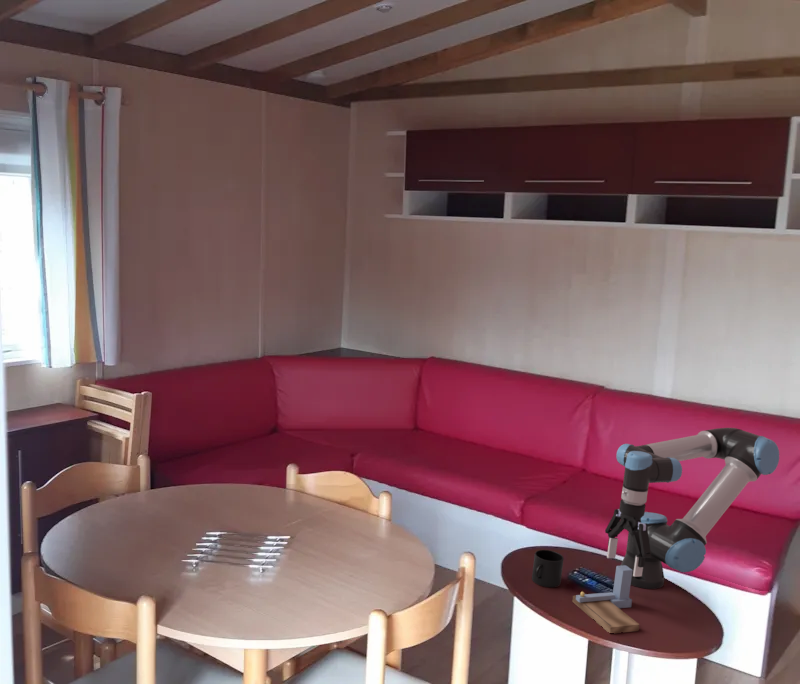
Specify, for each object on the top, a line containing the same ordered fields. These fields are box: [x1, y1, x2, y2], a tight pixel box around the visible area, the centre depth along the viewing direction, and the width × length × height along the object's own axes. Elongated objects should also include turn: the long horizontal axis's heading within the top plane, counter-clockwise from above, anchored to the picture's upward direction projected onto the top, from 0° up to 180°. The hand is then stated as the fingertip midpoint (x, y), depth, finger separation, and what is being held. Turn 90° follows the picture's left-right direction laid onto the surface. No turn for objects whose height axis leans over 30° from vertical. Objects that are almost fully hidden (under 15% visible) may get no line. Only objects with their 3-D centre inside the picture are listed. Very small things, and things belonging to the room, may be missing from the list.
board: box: [572, 595, 640, 634], centre depth 235 cm, size 10×20×2 cm, turn 20°
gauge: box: [575, 565, 633, 609], centre depth 241 cm, size 18×5×12 cm, turn 110°
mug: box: [531, 549, 565, 588], centre depth 254 cm, size 9×12×9 cm
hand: (623, 566), depth 242 cm, fingers open, 13 cm apart
